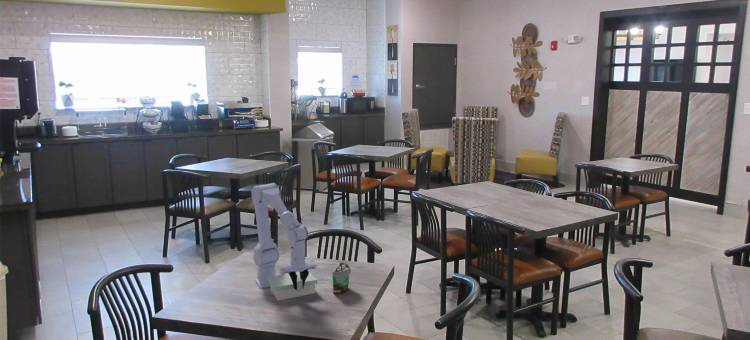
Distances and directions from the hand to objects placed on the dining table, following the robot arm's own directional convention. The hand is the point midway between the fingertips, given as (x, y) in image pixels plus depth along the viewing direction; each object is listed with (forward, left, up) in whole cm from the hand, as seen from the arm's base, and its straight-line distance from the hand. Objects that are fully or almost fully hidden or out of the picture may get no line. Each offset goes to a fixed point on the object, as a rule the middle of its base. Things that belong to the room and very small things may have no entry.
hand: (298, 288), depth 214 cm
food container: (-1, +20, -5) cm, 21 cm away
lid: (-6, 0, -1) cm, 6 cm away
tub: (-8, 0, -5) cm, 9 cm away
